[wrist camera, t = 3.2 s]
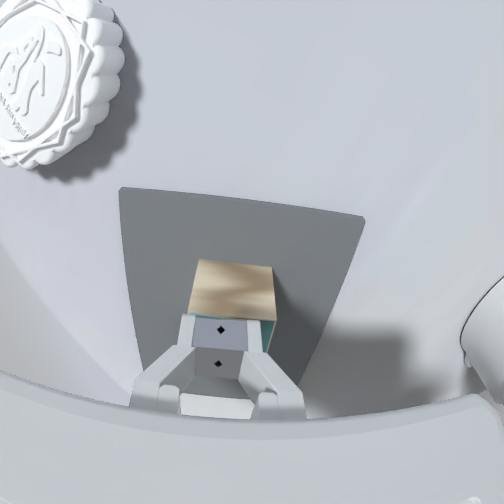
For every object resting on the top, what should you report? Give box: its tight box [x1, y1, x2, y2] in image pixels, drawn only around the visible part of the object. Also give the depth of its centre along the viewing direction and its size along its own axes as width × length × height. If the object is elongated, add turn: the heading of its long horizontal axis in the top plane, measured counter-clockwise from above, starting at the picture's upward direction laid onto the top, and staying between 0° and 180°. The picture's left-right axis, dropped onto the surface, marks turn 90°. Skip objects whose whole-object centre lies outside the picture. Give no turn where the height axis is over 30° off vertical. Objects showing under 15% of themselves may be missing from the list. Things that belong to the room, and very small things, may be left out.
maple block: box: [188, 259, 277, 353], centre depth 20 cm, size 5×5×5 cm
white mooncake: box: [0, 0, 125, 170], centre depth 12 cm, size 12×12×4 cm
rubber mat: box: [119, 187, 365, 399], centre depth 25 cm, size 16×23×1 cm
